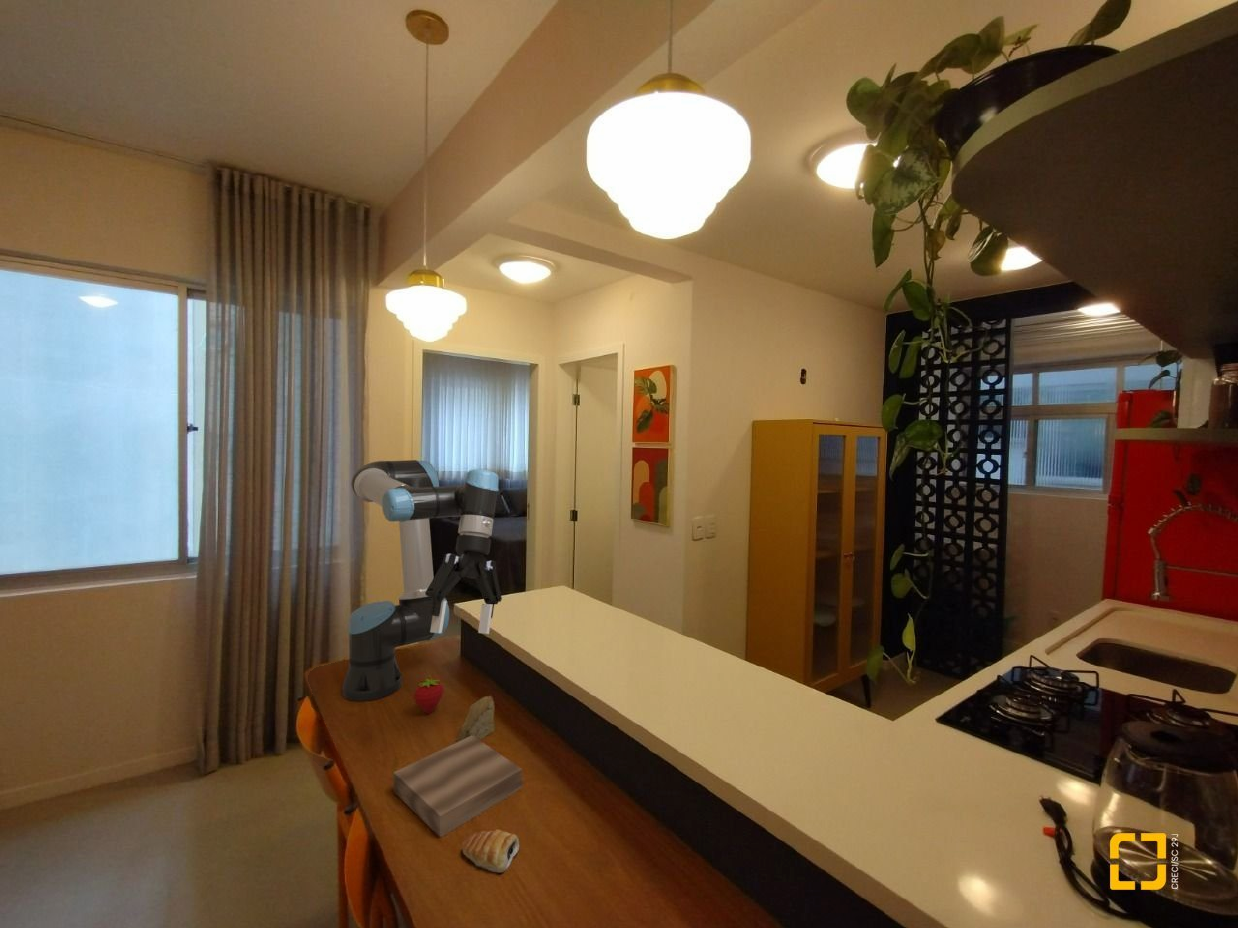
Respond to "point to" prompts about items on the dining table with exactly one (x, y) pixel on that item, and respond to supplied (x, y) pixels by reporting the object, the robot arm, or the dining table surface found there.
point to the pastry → (491, 849)
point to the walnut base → (457, 784)
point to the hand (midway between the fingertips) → (460, 633)
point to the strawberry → (428, 695)
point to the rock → (478, 720)
